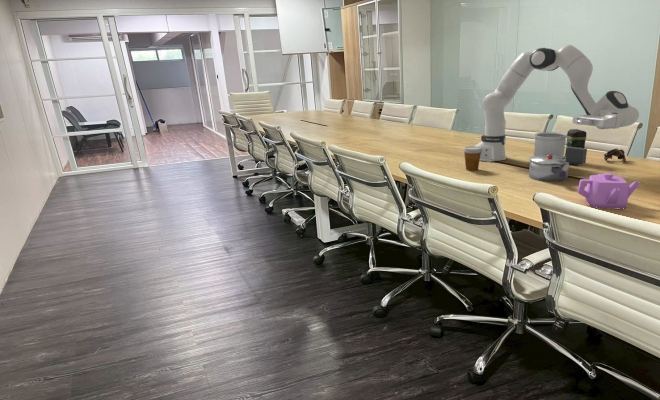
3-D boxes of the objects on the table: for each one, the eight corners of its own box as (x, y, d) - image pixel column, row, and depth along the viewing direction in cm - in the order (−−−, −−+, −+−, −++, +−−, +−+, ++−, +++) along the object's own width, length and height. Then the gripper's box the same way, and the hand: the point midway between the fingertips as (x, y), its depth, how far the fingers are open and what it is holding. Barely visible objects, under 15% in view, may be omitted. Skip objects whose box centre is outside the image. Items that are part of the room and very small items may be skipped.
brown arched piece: (623, 165, 223) (615, 152, 223) (605, 170, 231) (598, 157, 231) (633, 156, 228) (626, 143, 228) (615, 161, 237) (608, 148, 237)
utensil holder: (565, 170, 219) (568, 136, 214) (533, 170, 225) (536, 136, 219) (561, 164, 233) (564, 132, 227) (531, 163, 238) (533, 132, 232)
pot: (522, 171, 224) (523, 156, 221) (557, 170, 221) (558, 155, 218) (541, 187, 195) (542, 170, 192) (581, 186, 192) (583, 169, 189)
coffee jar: (585, 165, 227) (589, 130, 222) (570, 166, 227) (574, 131, 222) (576, 161, 236) (580, 127, 231) (561, 162, 237) (565, 128, 231)
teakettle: (595, 195, 180) (599, 166, 177) (639, 204, 166) (644, 174, 162) (570, 203, 173) (574, 173, 169) (614, 214, 158) (619, 182, 155)
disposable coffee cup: (481, 167, 236) (482, 146, 233) (481, 171, 228) (482, 149, 224) (463, 167, 240) (463, 146, 236) (462, 171, 231) (463, 149, 227)
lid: (521, 160, 211) (522, 145, 209) (543, 155, 219) (544, 140, 217) (572, 169, 190) (573, 152, 188) (594, 162, 199) (596, 146, 196)
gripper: (588, 111, 208) (563, 113, 205) (623, 114, 188) (596, 117, 186) (587, 124, 210) (562, 127, 207) (621, 128, 190) (594, 131, 188)
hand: (578, 122), depth 197 cm, fingers closed
